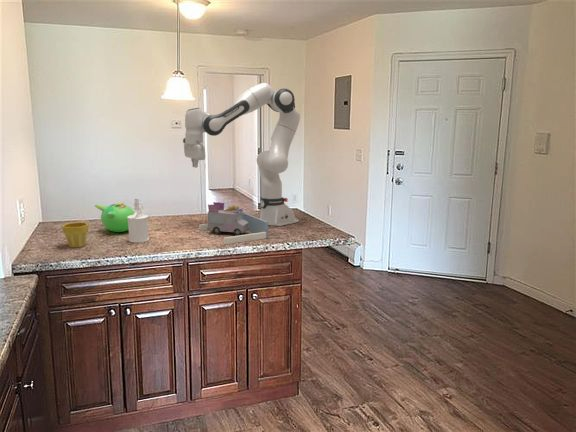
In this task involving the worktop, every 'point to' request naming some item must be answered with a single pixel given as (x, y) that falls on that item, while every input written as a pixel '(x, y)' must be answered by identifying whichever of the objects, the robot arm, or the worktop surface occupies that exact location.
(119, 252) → the worktop surface
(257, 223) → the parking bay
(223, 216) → the toy vehicle
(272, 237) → the worktop surface
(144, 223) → the white soap dispenser
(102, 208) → the green round vessel
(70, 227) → the plant pot
